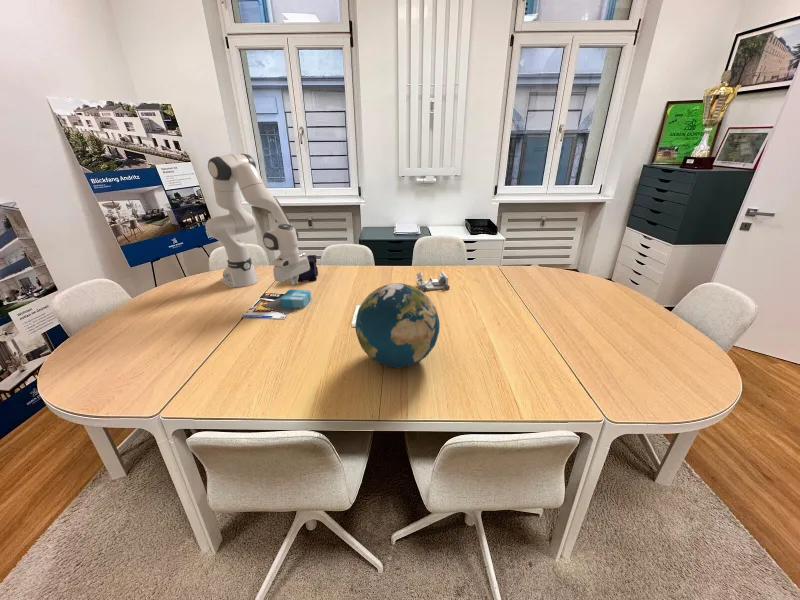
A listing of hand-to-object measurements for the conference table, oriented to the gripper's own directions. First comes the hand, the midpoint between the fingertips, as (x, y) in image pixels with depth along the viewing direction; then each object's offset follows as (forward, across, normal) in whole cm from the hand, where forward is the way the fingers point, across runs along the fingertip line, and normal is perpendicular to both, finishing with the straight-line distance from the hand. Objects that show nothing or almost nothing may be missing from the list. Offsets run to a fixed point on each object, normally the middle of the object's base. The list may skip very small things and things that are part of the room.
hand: (294, 284), depth 176 cm
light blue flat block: (+6, -2, +1) cm, 6 cm away
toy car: (+9, -50, +52) cm, 73 cm away
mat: (+9, +8, 0) cm, 12 cm away
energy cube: (+9, -24, -18) cm, 31 cm away
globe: (+9, +17, +74) cm, 76 cm away
